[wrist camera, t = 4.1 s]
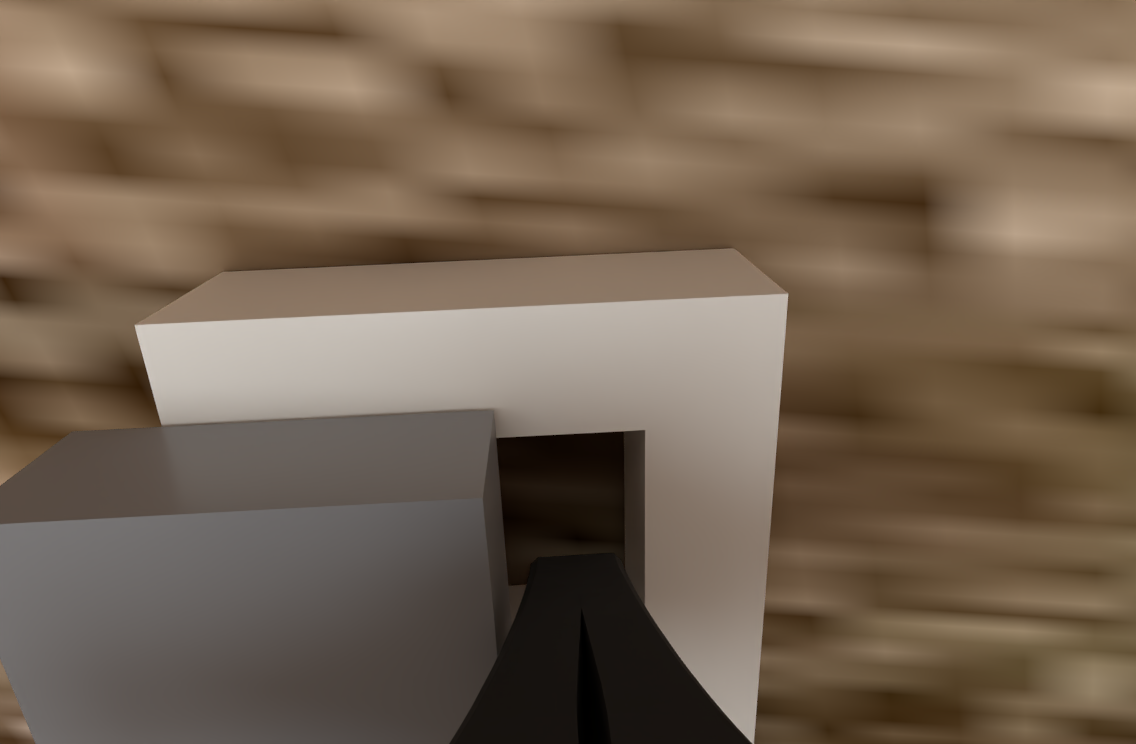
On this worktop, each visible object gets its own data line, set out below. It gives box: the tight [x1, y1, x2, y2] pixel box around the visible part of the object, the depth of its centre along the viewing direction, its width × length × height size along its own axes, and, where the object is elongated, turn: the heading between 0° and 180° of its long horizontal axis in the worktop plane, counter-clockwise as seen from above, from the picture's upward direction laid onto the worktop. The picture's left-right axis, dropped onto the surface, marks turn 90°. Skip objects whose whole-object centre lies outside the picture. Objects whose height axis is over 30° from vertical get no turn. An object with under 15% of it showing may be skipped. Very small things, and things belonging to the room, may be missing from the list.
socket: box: [135, 248, 788, 744], centre depth 13 cm, size 9×9×3 cm
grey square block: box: [0, 410, 512, 744], centre depth 10 cm, size 6×6×2 cm
